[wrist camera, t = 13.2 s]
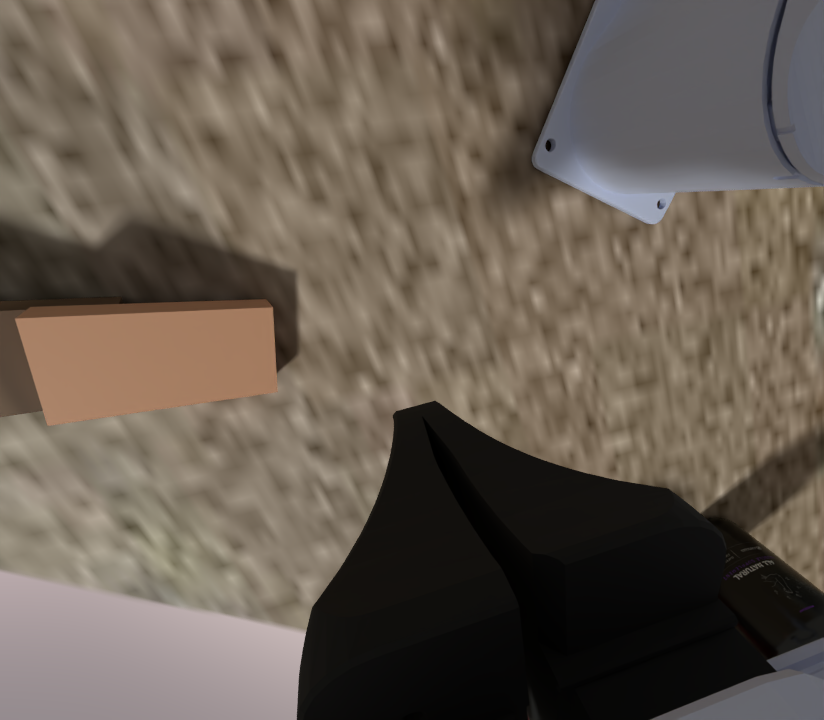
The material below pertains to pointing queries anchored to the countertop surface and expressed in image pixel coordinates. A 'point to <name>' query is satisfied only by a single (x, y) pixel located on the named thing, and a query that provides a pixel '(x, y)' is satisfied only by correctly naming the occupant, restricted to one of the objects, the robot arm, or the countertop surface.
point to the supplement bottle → (767, 595)
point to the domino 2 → (147, 355)
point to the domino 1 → (6, 359)
